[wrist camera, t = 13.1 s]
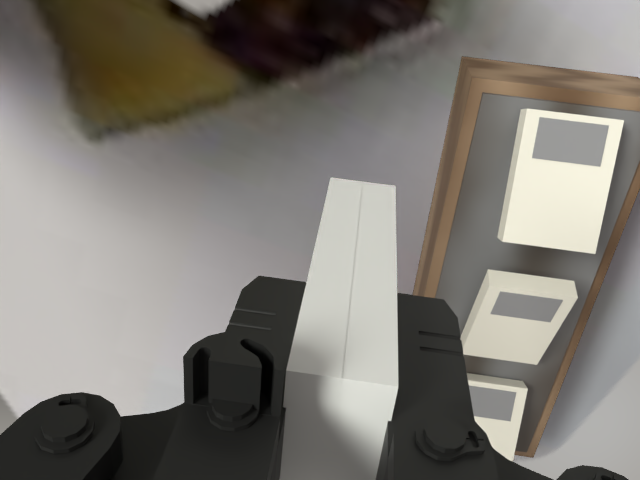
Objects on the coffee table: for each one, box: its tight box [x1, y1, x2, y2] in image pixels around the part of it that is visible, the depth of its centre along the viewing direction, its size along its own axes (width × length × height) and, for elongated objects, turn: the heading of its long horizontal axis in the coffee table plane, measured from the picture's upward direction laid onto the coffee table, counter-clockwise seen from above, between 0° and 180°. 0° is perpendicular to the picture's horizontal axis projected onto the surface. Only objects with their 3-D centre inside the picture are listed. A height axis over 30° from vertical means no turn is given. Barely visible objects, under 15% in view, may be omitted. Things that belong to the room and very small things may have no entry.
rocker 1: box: [467, 373, 528, 462], centre depth 46 cm, size 6×8×1 cm
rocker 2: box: [497, 108, 624, 254], centre depth 36 cm, size 6×8×2 cm
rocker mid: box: [460, 269, 578, 365], centre depth 41 cm, size 6×8×1 cm
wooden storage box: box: [413, 57, 640, 457], centre depth 45 cm, size 12×31×7 cm, turn 175°
